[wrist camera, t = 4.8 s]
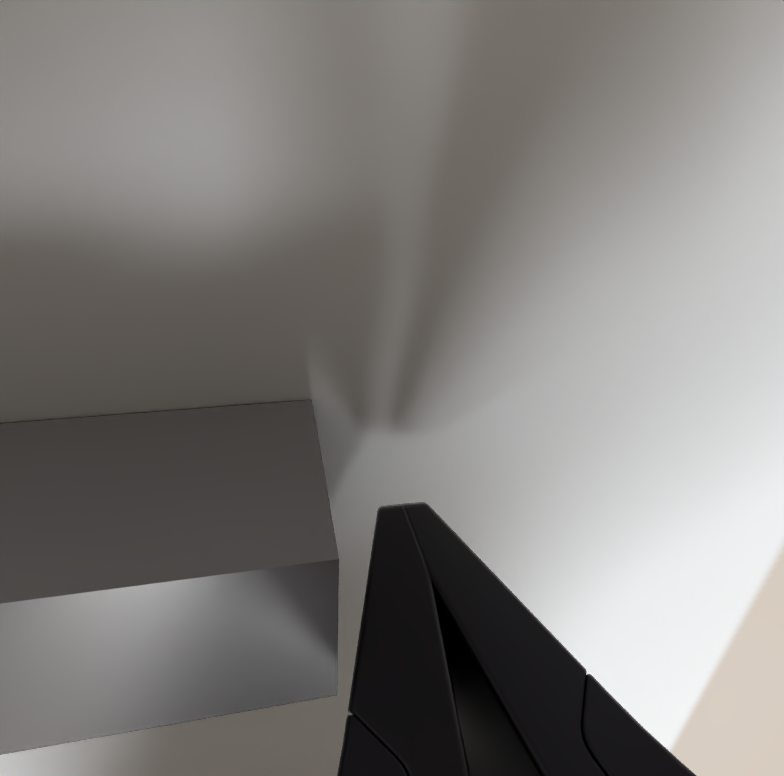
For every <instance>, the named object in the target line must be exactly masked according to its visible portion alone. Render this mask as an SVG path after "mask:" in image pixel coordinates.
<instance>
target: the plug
mask: <svg viewBox="0 0 784 776" xmlns="http://www.w3.org/2000/svg"><path fill="white" fill-rule="evenodd" d="M338 576H339V558H338V552H337V546H336V540H335V534H334V528H333V523H332V517H331V511H330V505H329V499H328V493H327V487H326V482H325V476H324V470H323V464H322V458H321V452H320V446H319V441H318V435H317V429H316V423H315V417H314V411H313V405H312V400H303V401H290V402H276V403H263V404H250V405H237V406H224V407H211V408H198V409H185V410H172V411H159V412H146V413H133V414H120V415H107V416H94V417H81V418H68V419H55V420H42V421H29V422H16V423H3V424H0V755H1V754H7V753H13V752H18V751H24V750H30V749H35V748H41V747H46V746H52V745H58V744H63V743H69V742H75V741H80V740H86V739H92V738H97V737H103V736H109V735H114V734H120V733H126V732H131V731H137V730H142V729H148V728H154V727H159V726H165V725H171V724H176V723H182V722H188V721H193V720H199V719H205V718H210V717H216V716H222V715H227V714H233V713H238V712H244V711H250V710H255V709H261V708H267V707H272V706H278V705H284V704H289V703H295V702H301V701H306V700H312V699H317V698H323V697H329V696H334V695H337V643H338Z"/></svg>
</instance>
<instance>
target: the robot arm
mask: <svg viewBox="0 0 784 776" xmlns="http://www.w3.org/2000/svg"><path fill="white" fill-rule="evenodd" d="M337 776H696V775H695V774H694V773H693V772H692V771H691V770H689V769H688V768H687V767H686V766H685V765H684V764H683V763H681V762H680V761H679V760H678V759H677V758H676V757H675V756H674V755H673V754H671V753H670V752H669V751H668V750H667V749H666V748H665V747H664V746H663V745H662V744H661V743H659V742H658V741H657V740H656V739H655V738H654V737H653V736H652V735H651V734H650V733H649V732H647V731H646V730H645V729H644V728H643V727H642V726H641V725H640V724H639V723H638V722H637V721H636V720H635V719H634V718H633V717H632V716H631V715H630V714H629V713H628V712H627V711H626V710H625V709H624V708H623V707H622V706H621V705H620V704H619V703H618V702H617V701H616V700H615V699H614V698H613V697H612V696H611V695H610V694H609V693H608V692H607V691H606V690H605V689H604V688H603V687H602V686H601V685H600V683H599V682H598V681H597V680H596V679H595V678H594V677H593V676H592V675H591V674H587V675H586V669H585V668H584V667H583V666H582V665H581V664H580V663H579V662H578V661H577V660H576V659H575V658H574V657H573V656H572V654H571V653H570V652H569V651H568V650H567V649H566V648H565V647H564V646H563V645H562V644H561V643H560V642H559V641H558V640H557V639H556V638H555V637H554V636H553V635H552V634H551V633H550V632H549V630H548V629H547V628H546V627H545V626H544V625H543V624H542V623H541V622H540V621H539V620H538V619H537V618H536V617H535V616H534V615H533V614H532V613H531V612H530V611H529V610H528V609H527V607H526V606H525V605H524V604H523V603H522V602H521V601H520V600H519V599H518V598H517V597H516V596H515V595H514V594H513V593H512V592H511V591H510V590H509V589H508V588H507V587H506V586H505V585H504V583H503V582H502V581H501V580H500V579H499V578H498V577H497V576H496V575H495V574H494V573H493V572H492V571H491V570H490V569H489V568H488V567H487V566H486V565H485V564H484V563H483V562H482V560H481V559H480V558H479V557H478V556H477V555H476V554H475V553H474V552H473V551H472V550H471V549H470V548H469V547H468V546H467V545H466V544H465V543H464V542H463V541H462V540H461V539H460V538H459V536H458V535H457V534H456V533H455V532H454V531H453V530H452V529H451V528H450V527H449V526H448V525H447V524H446V523H445V522H444V521H443V520H442V519H441V518H440V517H439V516H438V515H437V514H436V512H435V511H434V510H433V509H432V508H431V507H430V506H429V505H428V504H426V503H424V502H417V503H407V504H397V505H387V506H381V507H379V509H378V512H377V518H376V525H375V532H374V539H373V545H372V552H371V559H370V566H369V572H368V579H367V586H366V593H365V599H364V606H363V613H362V620H361V626H360V633H359V640H358V646H357V653H356V660H355V667H354V673H353V680H352V687H351V694H350V700H349V707H348V716H347V719H346V725H345V732H344V739H343V745H342V751H341V757H340V762H339V768H338V773H337Z"/></svg>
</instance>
